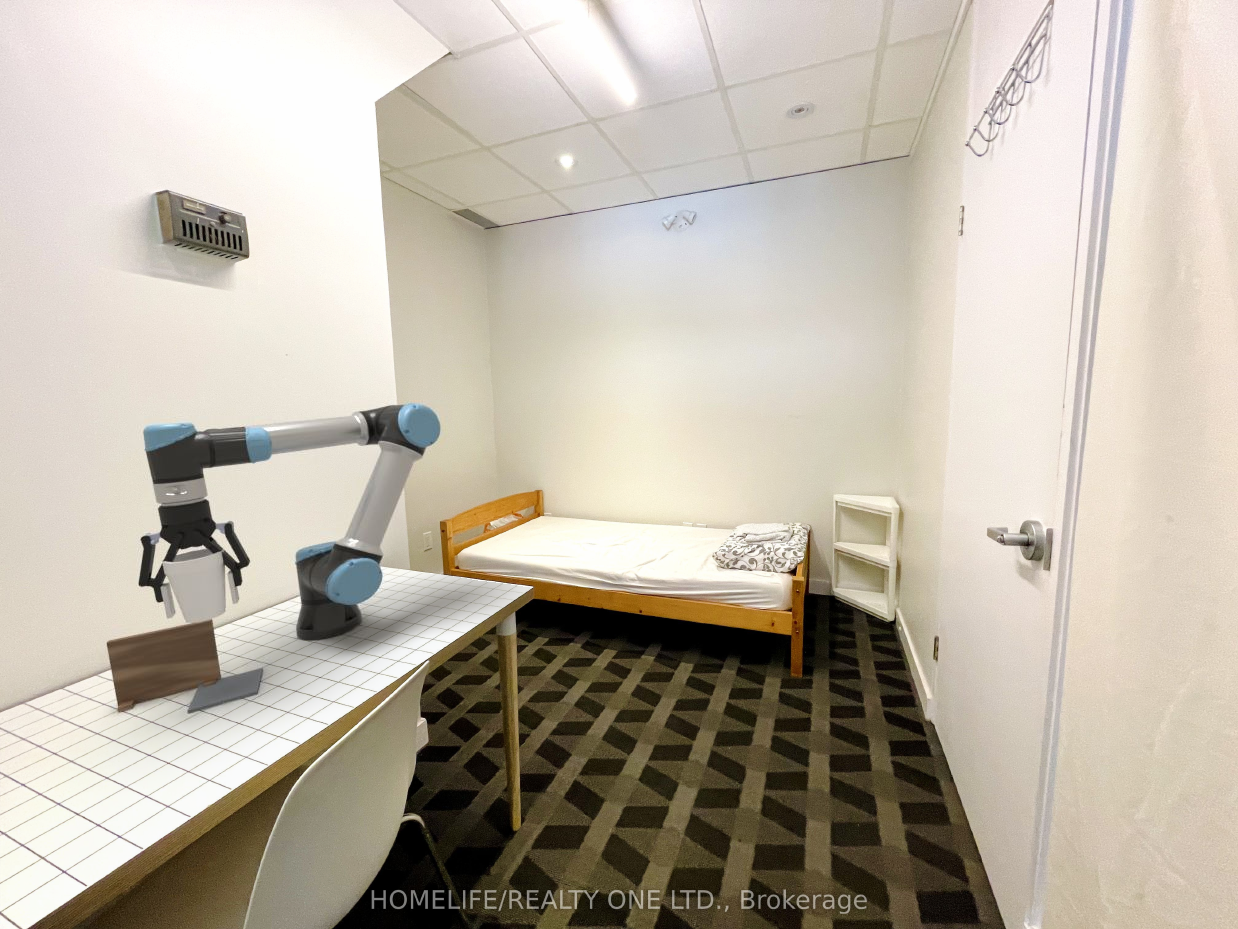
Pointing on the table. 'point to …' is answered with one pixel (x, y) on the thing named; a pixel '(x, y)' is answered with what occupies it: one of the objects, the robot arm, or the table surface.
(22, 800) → the table surface
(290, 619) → the table surface
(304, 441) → the robot arm
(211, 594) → the foam cup
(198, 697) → the mat
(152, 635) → the screen
